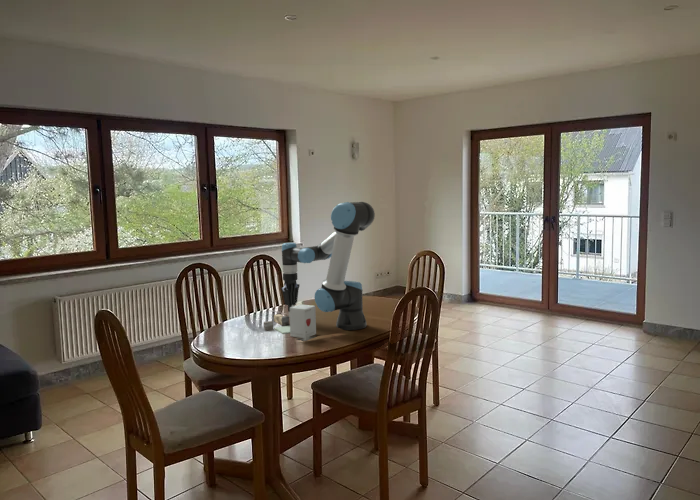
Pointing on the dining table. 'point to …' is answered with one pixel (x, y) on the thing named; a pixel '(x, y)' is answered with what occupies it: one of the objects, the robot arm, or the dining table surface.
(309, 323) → the supplement box
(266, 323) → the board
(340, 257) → the robot arm
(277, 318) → the leg bar
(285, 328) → the seat pad
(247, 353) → the dining table surface
